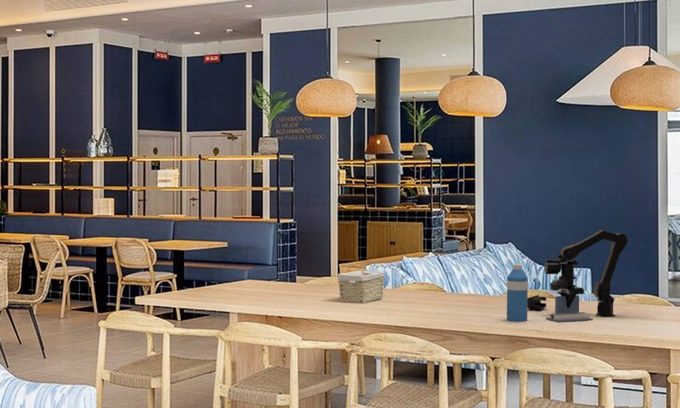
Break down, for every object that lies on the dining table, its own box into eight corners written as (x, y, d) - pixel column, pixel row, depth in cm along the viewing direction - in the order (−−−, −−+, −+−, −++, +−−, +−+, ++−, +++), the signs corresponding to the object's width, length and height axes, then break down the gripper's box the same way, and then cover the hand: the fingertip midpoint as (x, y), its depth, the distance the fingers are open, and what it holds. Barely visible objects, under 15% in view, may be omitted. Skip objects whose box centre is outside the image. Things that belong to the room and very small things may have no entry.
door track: (579, 317, 434) (579, 311, 434) (592, 320, 424) (592, 314, 424) (546, 319, 427) (546, 313, 427) (558, 322, 418) (558, 316, 418)
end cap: (532, 308, 465) (532, 294, 465) (546, 309, 461) (546, 295, 461) (525, 310, 457) (525, 296, 457) (539, 311, 453) (539, 297, 453)
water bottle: (524, 318, 429) (525, 264, 428) (529, 321, 420) (530, 265, 419) (504, 318, 429) (505, 264, 428) (508, 321, 419) (509, 265, 419)
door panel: (576, 312, 442) (577, 295, 442) (579, 312, 441) (579, 295, 441) (555, 313, 438) (555, 296, 438) (557, 313, 437) (557, 296, 436)
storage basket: (363, 304, 478) (363, 275, 478) (336, 301, 486) (336, 273, 486) (385, 299, 499) (385, 271, 498) (359, 297, 507) (359, 269, 507)
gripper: (541, 272, 445) (541, 305, 445) (564, 276, 427) (563, 310, 428) (561, 272, 449) (561, 304, 449) (584, 275, 431) (584, 309, 432)
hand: (567, 307), depth 439 cm, fingers closed on door panel, 2 cm apart
